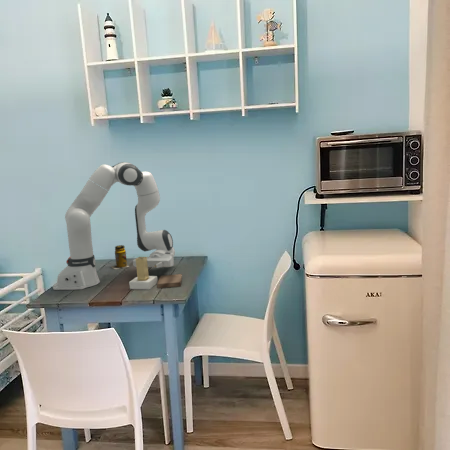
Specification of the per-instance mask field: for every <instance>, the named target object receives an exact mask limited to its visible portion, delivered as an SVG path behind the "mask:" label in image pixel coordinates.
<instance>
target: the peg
mask: <svg viewBox="0 0 450 450" xmlns="http://www.w3.org/2000/svg"><path fill="white" fill-rule="evenodd" d="M147 257H148V256H138V257H136V258H135V259H136V267H135V268H136V277H137V278H138V281H146V280H148V279H149V276H150V275H149V267H148V264H147Z"/></svg>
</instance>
